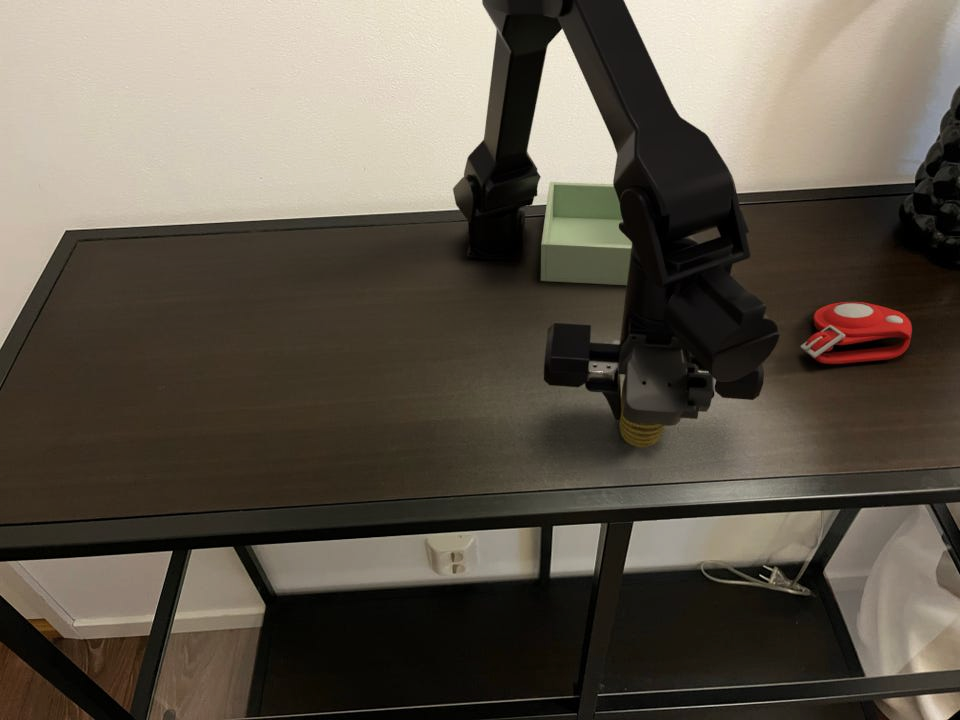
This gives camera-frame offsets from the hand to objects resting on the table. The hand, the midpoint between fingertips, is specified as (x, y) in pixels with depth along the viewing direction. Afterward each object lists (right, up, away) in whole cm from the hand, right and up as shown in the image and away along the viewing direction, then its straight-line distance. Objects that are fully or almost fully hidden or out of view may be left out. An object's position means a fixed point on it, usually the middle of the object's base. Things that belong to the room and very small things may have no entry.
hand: (640, 418), depth 73 cm
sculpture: (0, -2, +2) cm, 2 cm away
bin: (-1, +20, +22) cm, 29 cm away
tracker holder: (+24, +8, +9) cm, 27 cm away
